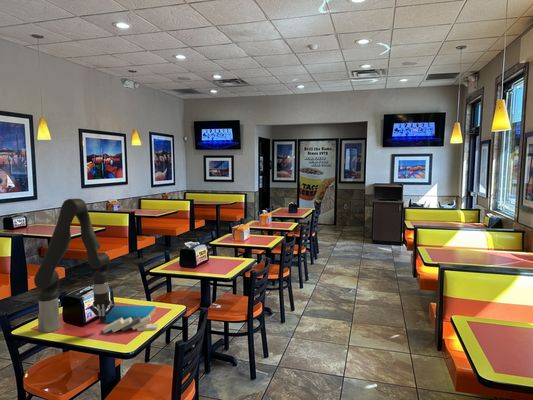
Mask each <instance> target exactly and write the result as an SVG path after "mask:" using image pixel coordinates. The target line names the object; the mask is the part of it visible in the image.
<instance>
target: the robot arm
mask: <svg viewBox="0 0 533 400" xmlns="http://www.w3.org/2000/svg"><path fill="white" fill-rule="evenodd" d="M75 217H76V219H77V220H78V222H79V226H80V238H81V242H82V243H83V246H84V247H85V250H86V256H87V261H88V262H87V263H88V264H89V266H90V268H92V269H93V270H96V271H95V272H94V273H93V276H92V280H93V281H92V282H93V283H92V284H93V286H92V287H93V290H92V292H93V304H91V305H90V306H89V310H90V311H91V312H92V313H93V314H94V315H95V316H99V322H100V323H101V324H102V323H103V324H105V323H106V322H105V321H106V315H108V313H109V312H110V311H111V310H112V308H114V307H115V306H116V304H114V303H111V299H110V290H109V289H110V287H109V278H108V273H109V269H110V263H111V260H110V256H109V255H108V253H106V252H101V253H98V250H99V249H100V248H101V244H100V241H99V239H98V237H97V235H96V233H95V230H94V227H93V225H92V224H93V223H92V222H91V217H90V214H89V210H88V207H87V204H86V202H85V200H83V199H82V198H68V199H66V200H64V201H63V203H62V204H61V208H60V211H59V215H58V219H57V222H56V224H55V228H54V230H53V233H52V236H51V238H50V240H49V243H48V246H47V249H46V251H45V254H44V256H43V260H42V261H41V264H40V266H39V267H38V270H37V271H36V272H35V273H36V274H35V275H34V278H33V279H34V280H33V282H34V285H35V288H37V289H39V290H40V292H39V294H38V299H37V301H38V311H39V312H38V314H37V320H38V321H37V322H38V323H37V324H38V332H40V333H44V334H45V333H52V332H55V331H58V330H59V329H60V327H61V322H60V320H61V319H60V309H59V308H60V305H59V292H60V276H59V273H58V271H57V270H56V268H57V266H58V264H59V263H60V261H61V260H62V259H63V257H64V256H65V254H66V253H67V251H68V248H69V246H70V243H71V241H72V240H71V239H72V233H71V225H72V223H73V220H74V218H75ZM107 308H108V310H107Z"/></svg>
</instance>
